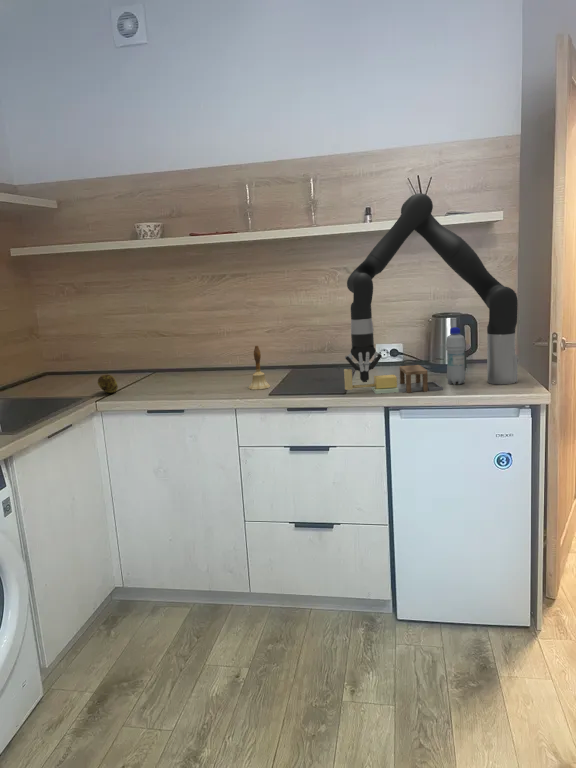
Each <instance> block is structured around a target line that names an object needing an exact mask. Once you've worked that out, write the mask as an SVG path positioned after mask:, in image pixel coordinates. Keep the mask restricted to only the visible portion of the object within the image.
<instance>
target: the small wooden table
mask: <svg viewBox="0 0 576 768" xmlns="http://www.w3.org/2000/svg"><path fill="white" fill-rule="evenodd" d="M421 375H422V376H421ZM412 376H415V383H421V377H422V382H423V391H422V392H423V393H425V392H426V393H427V391H428V382H429V381H428V379H429V378H428V370H427V369H426V368H425V367H423V366H422V365H420V364H414V365H413V364H412V365H400V366H399V384H406V392H405V393H406V394H411V393H412V391H411V383H412ZM428 392H429V391H428Z"/></svg>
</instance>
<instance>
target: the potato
mask: <svg viewBox="0 0 576 768" xmlns="http://www.w3.org/2000/svg"><path fill="white" fill-rule="evenodd" d="M97 384H98V386H99V388H100V389H101V390H102V391H104V392H105V393H108V394H113V393H116V392H117V391H118V387H119V385H118V383H117V381H116V379H115V377H114V376H112V375H111V374H102V375H101V376H98V379H97Z"/></svg>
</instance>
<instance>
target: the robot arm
mask: <svg viewBox="0 0 576 768" xmlns="http://www.w3.org/2000/svg"><path fill="white" fill-rule="evenodd" d="M433 207H434V205H433V201H432V199H431V197H430V196H429V195H427V194H425V193H422V192H421V193H415V194H413V195H411V196H409V198H407V200H405V202H403V204H402V206H401V208H400V216H399V217H398V219H397V220H396V221H395V223H394V225H392V226H391V228H390V229H389V230H388V231H387V232H386V233H385V234H384V236H382V238H381V239H380V240H379V241H378V242H377V244H376V245H374V247H373V248H372V249H371V251H369V254H368V255H367V256H366V258H365V260H364V259H363V261H362V262H361V263H360V264H359V265H358V266H357V267H356V268H355V269H354V270H353V271H352V272H351V274H349V276H348V278H347V281H346V287H347V289H348V290H349V291H350V292H351V293H352V294H353V295H352V296H353V297H352V298H353V300H352V301H353V302H352V303H351V304H350V336H351V338H350V339H351V348H350V353H349V354H348V355H345V357H344V359H345V360H346V361H347V362H348V363H349V365H350V366H351V367H352V368H353V369H354V370H355V371H358V372H359V380H360V381H361V382H362V383H367V382H368V381H369V379H370V376H369V371H371V370H373V369H375V367H376V366H377V364H378V363H379V362H380V360H381V358H382V356H383V355H382V354H381V353H380V352H377V351H376V347H375V345H374V344H375V343H374V325H373V319H372V318H373V317H372V312H373V311H372V303H373V302H372V301H373V294H374V283H373V282H374V281H373V279H374V278H375V276H377V275H378V274H381V273H382V272H383V271H384V270H385V268H386V267H387V266H388V265H389V263H390V262H391V260H392V259H393V257H394V256H395V255H396V254H397V252H398V251H399V249H400V248H401V247H402V245H404V243H405V241H406V240H407V238H408V239H409V236H410V235H411V234H412V233H413V232H414V231H415V232H416V233H417V234H418V235H419V236H421V237H422V238H423V239H424V241H426V242H427V243H428V244H429V245H430V246H431V248H432V249H433V251H435V252H436V253H437V254H438V255H439V256H440V258H442V260H443V261H444V262H445V263H446V265H448V266H449V268H450V269H451V270H453V271H454V272H455V274H457V275H458V276H459V277H460V278H461V279H462V280H464V282H466V283H467V284H468V285H469V286H470V287H472V289H473V290H474V291H475V292H476V294H477V295H478V296H479V297H480V298H481V300H482V301H483V303H484V304H485V305H486V307H487V308H488V310H489V312H488V315H489V316H488V317H489V318H488V324H487V326H486V329H487V330H486V331H487V332H486V333H487V336H486V341H487V342H486V345H487V348H486V352H487V353H486V355H487V358H486V359H487V361H486V362H487V364H486V365H487V366H486V367H487V369H486V370H487V371H486V372H487V373H486V374H487V376H486V377H487V381H486V382H487V383H488V384H491V385H511V384H515V382H516V383H518V355H517V354H516V329H517V326H518V325H517V324H518V305H519V304H518V296H517V293H516V291H515V290H514V289H513V288H511V287H509V286H504V285H503V284H502V283H501V282H499V281H498V280H497V279H496V278H495V276H493V275H492V274H491V273H490V272H489V271H488V269H487V268H486V267H485V265H484V263H483V261H482V260H481V258H480V257H479V255H478V254H477V253H476V251H475V250H474V249H473V248H472V246H470V245H469V244H468V243H467V242H466V241H465V240H464V239H463V238H462V237H461V236H459V235H458V234H456V233H455V232H453V231H452V230H450V229H448V228H446V227H444V225H442V224H441V223H440V222H439V220H437V219H436V218H435V217H434V215H432V212H433V209H434V208H433ZM353 357H354V359H355V360H356V362H357V364H358V365H357V364H356V363H355V362H353V360H354V359H353ZM372 359H373V360H372ZM371 360H372V361H371ZM370 361H371V363H370Z"/></svg>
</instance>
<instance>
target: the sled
mask: <svg viewBox="0 0 576 768" xmlns="http://www.w3.org/2000/svg"><path fill="white" fill-rule="evenodd" d="M343 374H344V375H343V377H344V389H345V390H346V391H349V390H351V391H352V390H353V389H362V388H372V387H376V388H377V389H378V388H393V387H397V384H398V378H397V376H396V375H395V374H386V375H385V374H384V375H373V383H367V384H354V385H353V370H352V368H344V369H343Z"/></svg>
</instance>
